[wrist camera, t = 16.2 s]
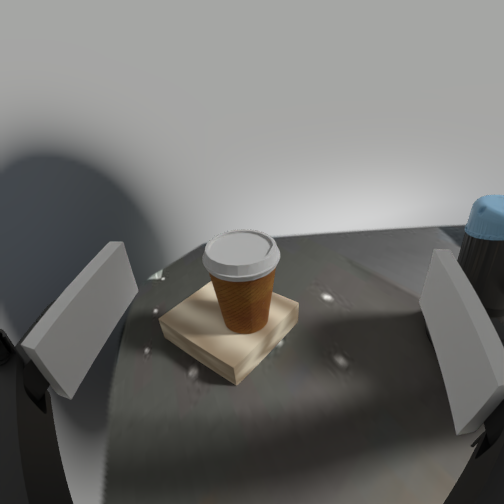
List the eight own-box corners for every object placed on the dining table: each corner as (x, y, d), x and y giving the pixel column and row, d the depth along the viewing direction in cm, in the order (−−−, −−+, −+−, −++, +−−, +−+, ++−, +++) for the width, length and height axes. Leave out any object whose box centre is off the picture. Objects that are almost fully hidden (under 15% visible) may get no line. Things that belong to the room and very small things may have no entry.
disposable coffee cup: (241, 354, 38) (233, 278, 32) (200, 317, 45) (186, 245, 38) (293, 319, 43) (296, 245, 37) (249, 289, 50) (245, 221, 44)
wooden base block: (226, 289, 57) (224, 271, 55) (297, 322, 48) (298, 302, 46) (164, 337, 47) (158, 318, 45) (236, 385, 39) (233, 367, 36)
